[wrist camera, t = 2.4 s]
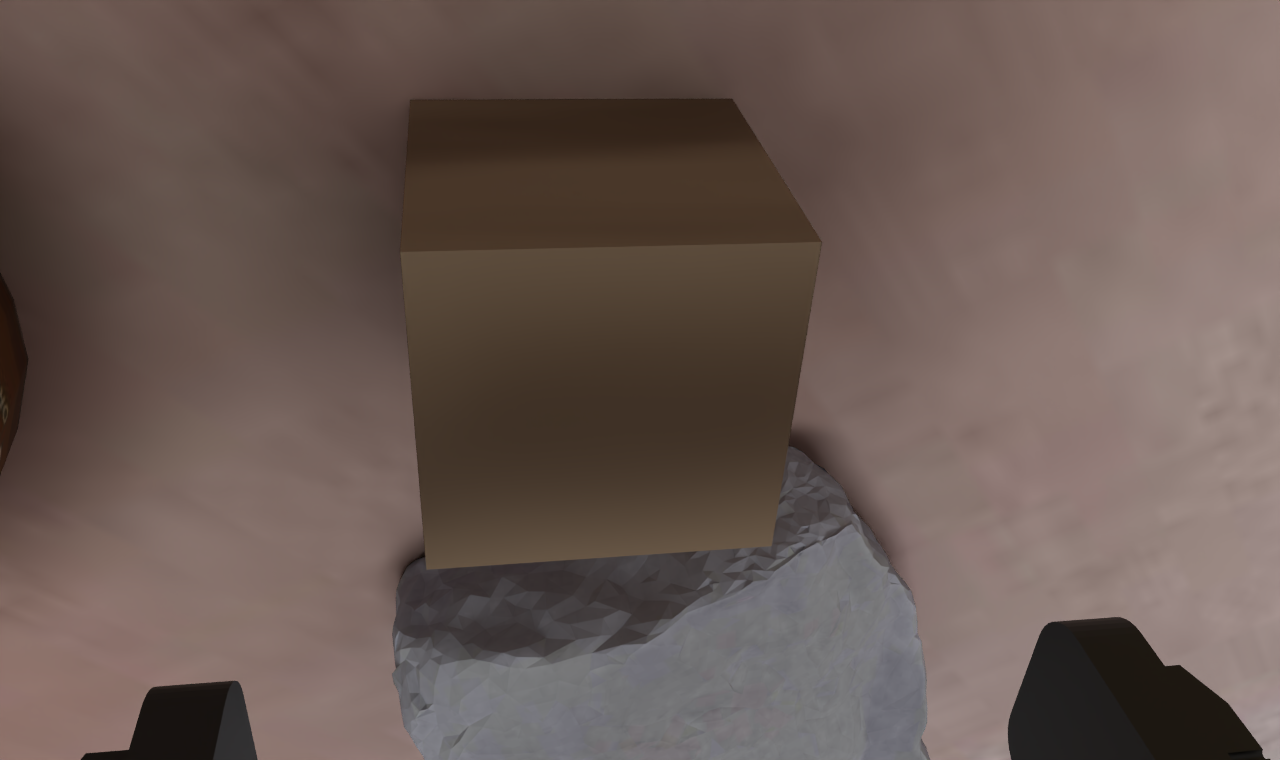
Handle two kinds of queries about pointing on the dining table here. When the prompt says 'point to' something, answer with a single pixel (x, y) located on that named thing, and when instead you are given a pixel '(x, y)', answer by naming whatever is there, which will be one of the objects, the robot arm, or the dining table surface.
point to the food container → (10, 371)
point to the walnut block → (599, 327)
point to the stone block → (672, 649)
